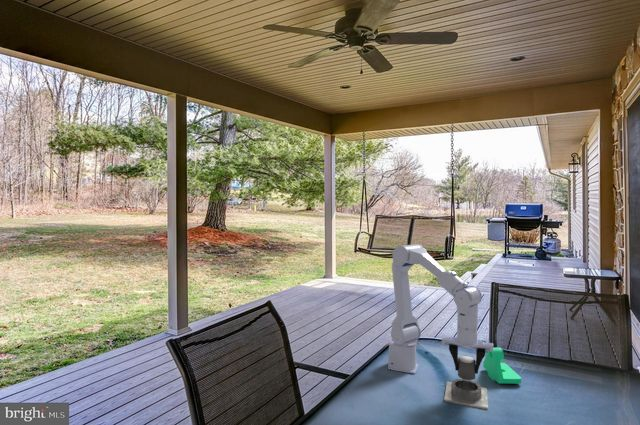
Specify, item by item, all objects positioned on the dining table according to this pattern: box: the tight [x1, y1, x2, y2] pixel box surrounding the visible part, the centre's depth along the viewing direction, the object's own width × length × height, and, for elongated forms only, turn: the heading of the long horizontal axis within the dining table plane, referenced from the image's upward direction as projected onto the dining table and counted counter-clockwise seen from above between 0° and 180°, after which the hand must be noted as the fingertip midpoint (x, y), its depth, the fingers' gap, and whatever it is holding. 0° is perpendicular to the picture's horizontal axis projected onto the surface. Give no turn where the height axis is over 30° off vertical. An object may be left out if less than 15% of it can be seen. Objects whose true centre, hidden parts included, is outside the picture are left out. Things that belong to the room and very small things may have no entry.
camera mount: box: [482, 347, 522, 385], centre depth 130 cm, size 12×8×10 cm, turn 179°
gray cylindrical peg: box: [457, 355, 476, 381], centre depth 118 cm, size 5×5×5 cm
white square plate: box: [443, 378, 489, 410], centre depth 118 cm, size 12×12×3 cm
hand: (466, 370), depth 118 cm, fingers closed on gray cylindrical peg, 5 cm apart
